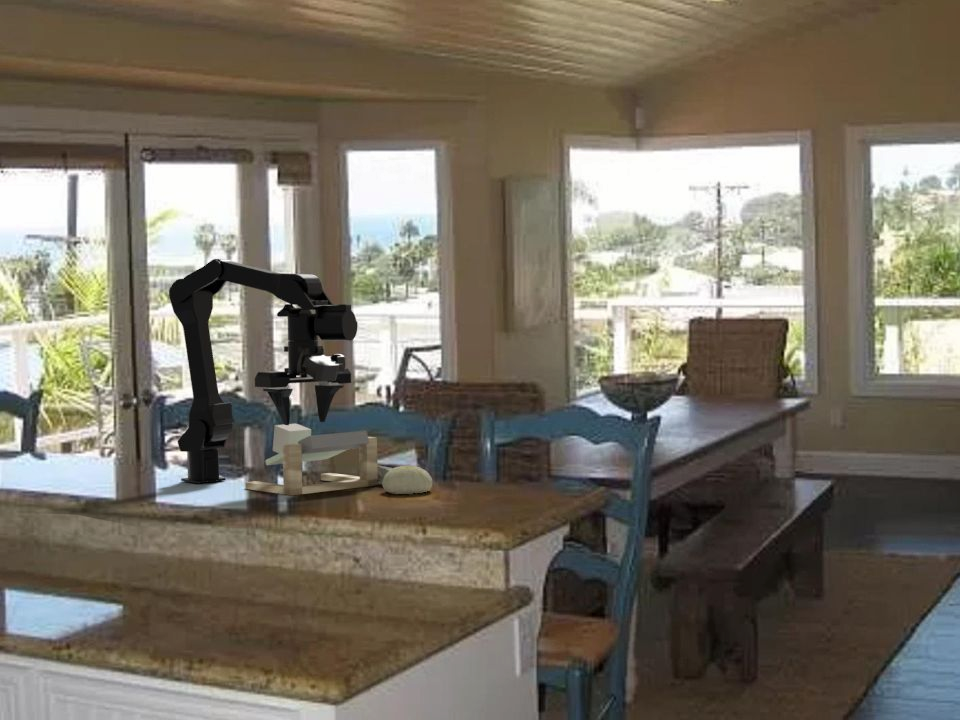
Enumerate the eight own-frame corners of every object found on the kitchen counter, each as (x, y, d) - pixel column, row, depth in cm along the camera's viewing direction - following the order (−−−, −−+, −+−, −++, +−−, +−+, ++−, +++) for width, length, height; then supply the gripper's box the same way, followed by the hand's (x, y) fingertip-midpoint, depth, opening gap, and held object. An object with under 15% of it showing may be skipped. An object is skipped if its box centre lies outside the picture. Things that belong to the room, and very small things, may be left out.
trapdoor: (267, 469, 290) (264, 456, 290) (327, 462, 299) (324, 450, 300) (310, 448, 279) (307, 435, 280) (371, 442, 289) (368, 430, 289)
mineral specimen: (390, 485, 300) (390, 463, 301) (428, 486, 291) (427, 463, 291) (363, 487, 296) (362, 464, 297) (400, 488, 287) (399, 465, 287)
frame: (245, 488, 290) (244, 440, 290) (330, 478, 304) (329, 433, 303) (291, 495, 279) (290, 445, 279) (377, 485, 293) (376, 437, 292)
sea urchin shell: (442, 479, 285) (430, 451, 280) (431, 513, 280) (419, 486, 275) (396, 477, 288) (383, 450, 283) (384, 512, 283) (372, 485, 278)
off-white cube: (287, 457, 293) (272, 450, 296) (309, 454, 296) (294, 448, 300) (289, 431, 292) (274, 425, 295) (311, 429, 295) (296, 423, 299)
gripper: (287, 343, 279) (288, 429, 280) (368, 339, 292) (370, 422, 293) (252, 342, 288) (253, 426, 288) (333, 339, 300) (334, 419, 301)
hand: (304, 423), depth 292 cm, fingers open, 8 cm apart
